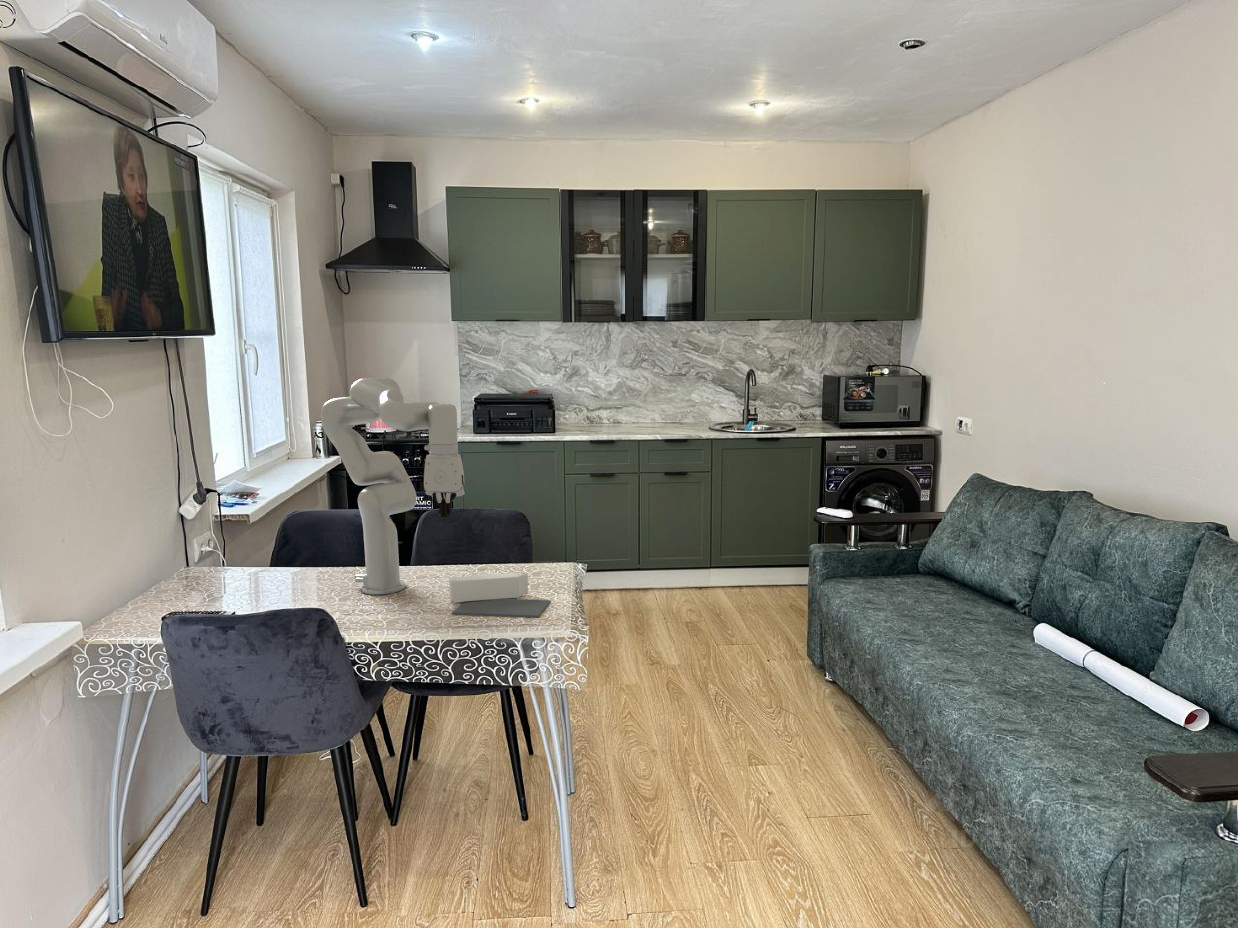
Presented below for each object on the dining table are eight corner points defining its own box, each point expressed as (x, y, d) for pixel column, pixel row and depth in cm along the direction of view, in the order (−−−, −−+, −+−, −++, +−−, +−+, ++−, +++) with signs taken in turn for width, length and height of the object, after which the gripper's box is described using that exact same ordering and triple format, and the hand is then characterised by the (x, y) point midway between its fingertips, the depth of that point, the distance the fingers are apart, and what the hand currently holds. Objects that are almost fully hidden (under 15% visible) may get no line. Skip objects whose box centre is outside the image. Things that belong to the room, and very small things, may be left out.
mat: (452, 614, 210) (451, 612, 210) (468, 599, 223) (468, 597, 223) (538, 617, 207) (538, 615, 207) (550, 602, 219) (550, 600, 219)
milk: (451, 602, 217) (529, 597, 224) (451, 580, 217) (529, 576, 223) (449, 597, 223) (525, 592, 229) (449, 576, 222) (525, 572, 229)
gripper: (411, 451, 208) (414, 518, 211) (465, 452, 206) (467, 520, 209) (422, 447, 216) (425, 512, 219) (474, 448, 214) (476, 514, 216)
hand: (445, 516), depth 214 cm, fingers closed
